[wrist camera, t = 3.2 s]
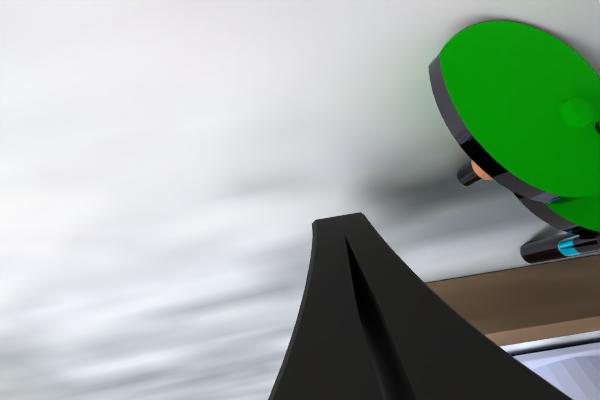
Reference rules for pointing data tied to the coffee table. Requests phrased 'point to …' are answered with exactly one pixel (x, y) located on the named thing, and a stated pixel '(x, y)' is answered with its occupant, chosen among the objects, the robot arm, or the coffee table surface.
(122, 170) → the coffee table surface
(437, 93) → the stick construction toy
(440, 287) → the channel box
